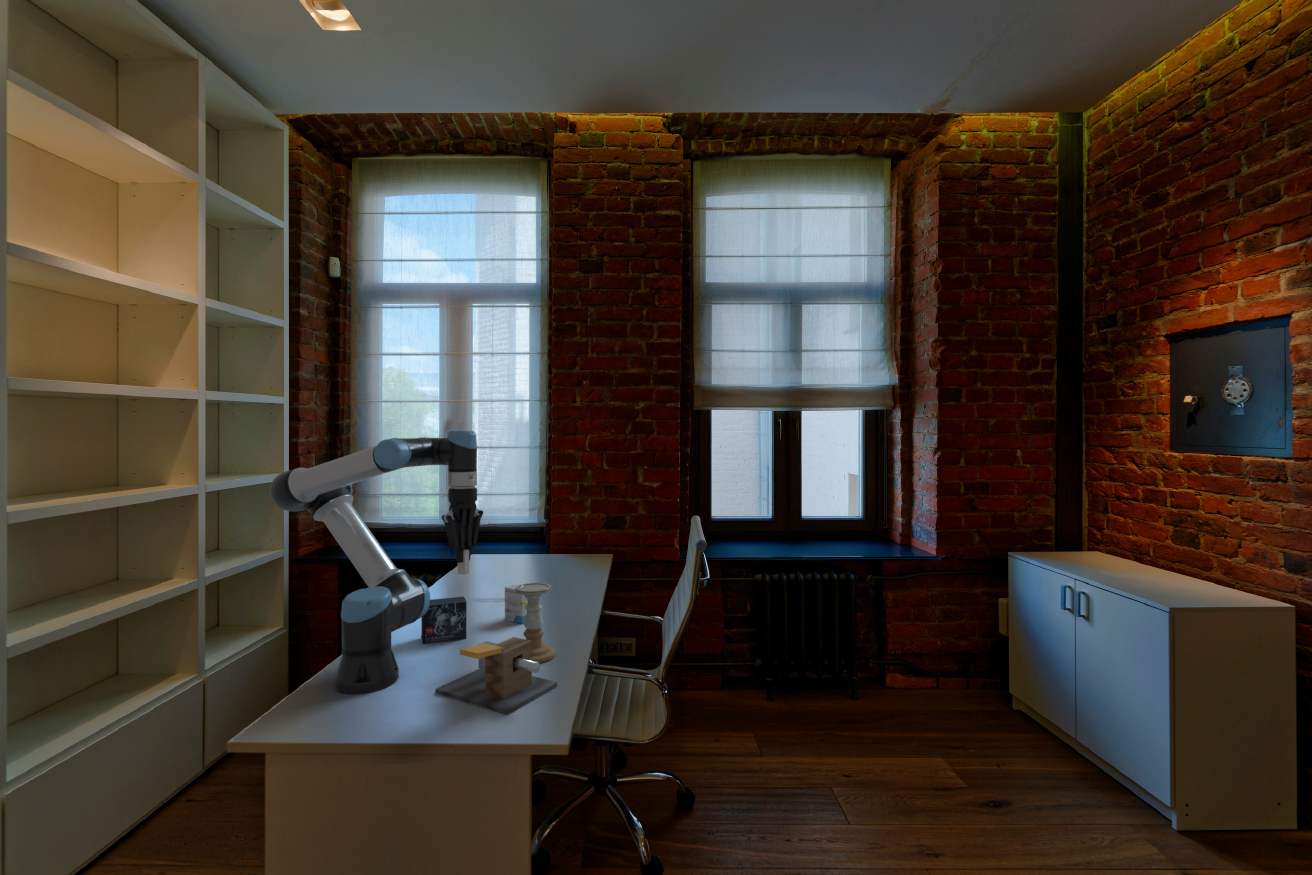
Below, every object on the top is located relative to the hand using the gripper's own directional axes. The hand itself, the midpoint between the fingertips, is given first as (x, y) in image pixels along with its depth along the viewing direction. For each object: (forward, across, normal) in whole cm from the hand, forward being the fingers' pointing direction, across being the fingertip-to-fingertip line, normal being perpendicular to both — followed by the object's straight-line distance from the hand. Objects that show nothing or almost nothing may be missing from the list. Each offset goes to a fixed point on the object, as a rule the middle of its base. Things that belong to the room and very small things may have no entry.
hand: (463, 573), depth 167 cm
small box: (+27, +15, +25) cm, 40 cm away
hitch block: (+26, -5, -17) cm, 32 cm away
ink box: (+27, +42, +17) cm, 53 cm away
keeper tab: (+14, -14, -21) cm, 29 cm away
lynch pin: (+21, -5, -21) cm, 30 cm away
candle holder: (+27, +17, -10) cm, 33 cm away
